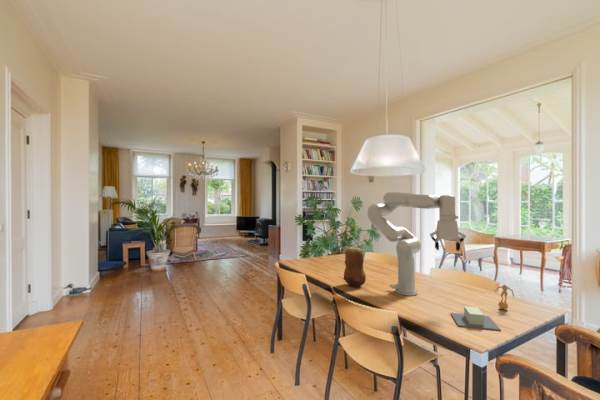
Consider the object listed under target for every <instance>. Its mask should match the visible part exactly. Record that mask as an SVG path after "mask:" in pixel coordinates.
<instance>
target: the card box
mask: <svg viewBox="0 0 600 400" xmlns="http://www.w3.org/2000/svg"><path fill="white" fill-rule="evenodd" d="M463 314H464V316H465V318H466V319H467V321H468V322H469V324H475V325H484V316H485V315H484V313H483V312H482V311H481V310H480V308H479V307H477V306H467V305H464V307H463Z"/></svg>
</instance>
